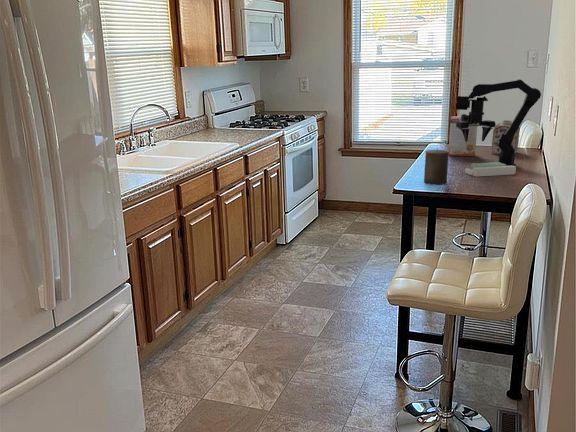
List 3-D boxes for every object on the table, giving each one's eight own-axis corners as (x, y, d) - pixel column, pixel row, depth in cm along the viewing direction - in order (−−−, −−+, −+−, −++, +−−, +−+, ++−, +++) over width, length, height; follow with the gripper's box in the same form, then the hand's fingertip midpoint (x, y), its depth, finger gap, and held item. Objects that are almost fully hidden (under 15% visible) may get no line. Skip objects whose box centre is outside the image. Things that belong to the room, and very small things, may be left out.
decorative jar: (490, 153, 314) (493, 120, 309) (496, 150, 323) (499, 118, 318) (512, 155, 308) (516, 122, 303) (518, 152, 317) (521, 120, 312)
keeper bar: (497, 171, 270) (498, 162, 269) (505, 174, 264) (505, 164, 263) (470, 172, 267) (471, 163, 266) (477, 175, 261) (478, 165, 260)
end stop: (505, 170, 271) (505, 163, 270) (516, 174, 262) (516, 166, 261) (464, 172, 266) (465, 165, 265) (474, 176, 258) (475, 169, 257)
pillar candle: (447, 185, 242) (450, 150, 238) (424, 184, 244) (426, 149, 240) (445, 180, 251) (448, 146, 247) (423, 179, 253) (425, 146, 249)
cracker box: (475, 154, 311) (478, 116, 305) (475, 156, 305) (478, 117, 299) (448, 153, 315) (451, 115, 309) (448, 155, 309) (450, 116, 304)
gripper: (485, 108, 290) (482, 138, 295) (451, 109, 286) (449, 140, 291) (497, 110, 280) (494, 141, 284) (462, 111, 276) (460, 143, 280)
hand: (474, 141), depth 285 cm, fingers open, 9 cm apart
